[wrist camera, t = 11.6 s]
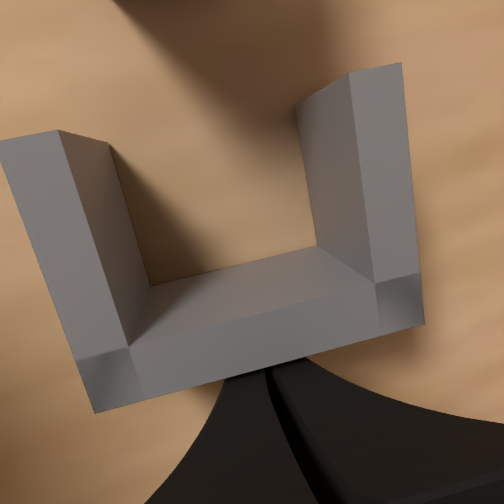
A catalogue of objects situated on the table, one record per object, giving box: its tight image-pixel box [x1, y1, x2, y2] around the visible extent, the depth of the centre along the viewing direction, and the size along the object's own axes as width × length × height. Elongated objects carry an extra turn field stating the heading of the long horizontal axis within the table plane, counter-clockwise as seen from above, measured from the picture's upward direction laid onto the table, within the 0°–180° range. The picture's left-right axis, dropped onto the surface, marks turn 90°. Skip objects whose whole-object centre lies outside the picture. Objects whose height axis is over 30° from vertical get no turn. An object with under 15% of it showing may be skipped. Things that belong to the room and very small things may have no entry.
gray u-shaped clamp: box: [0, 62, 425, 414], centre depth 9 cm, size 7×5×4 cm
